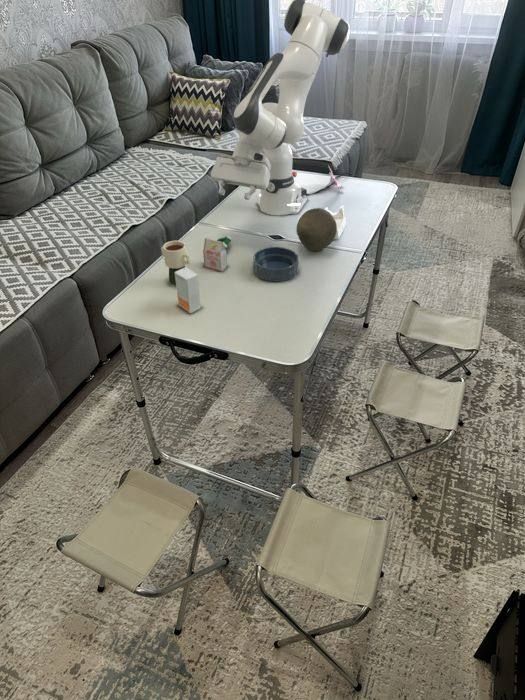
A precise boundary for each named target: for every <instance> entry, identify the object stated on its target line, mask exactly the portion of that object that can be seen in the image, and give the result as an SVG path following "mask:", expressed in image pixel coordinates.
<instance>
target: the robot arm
mask: <svg viewBox="0 0 525 700" xmlns="http://www.w3.org/2000/svg"><path fill="white" fill-rule="evenodd" d="M283 22H284V23H283V27H284V29H285V31H286V33H288V34H289V35H290V36H291V37H290V38H289V40H288V43H287V44H286V47H285V48H284V49H283V51H281V52H276V53H274V54H273V55H272V56H270V58H269V59H268V60H267V62H266V63H265V65H264V66H263V67H262V68H261V70H260V72H259V74H258V75H257V77H256V79H255V80H254V81H253V83H252V85H251V86H250V88H249V89H248V90H247V93H246V94H245V96H244V97H243V98H242V99H241V100H240V101H239V103H238V104H237V105H236V107H235V109H234V111H233V114H232V116H233V117H232V118H233V124H234V126H235V127H234V128H235V129H236V130H237V131H239V133H238V135H239V137H238V141H236V144H235V147H234V150H233V152H232V155H229V154H223V153H222V154H221V155H218V156H217V157H216V159H215V162H214V164H213V166H212V169H211V172H210V178H211V179H212V180H213V181H214V182H217V183H218V187H219V189H218V195H220V196H225V194H226V190H225V188H224V187H225V185H226V184H228V185H233V186H240V187H245V188H249V191H247V192H244V195H243V199H244V200H247V201H250V200H251V197H252V195H254V193H256V191H257V190H260V193H259V195H258V196H259V200H258V201H257V204H256V205H257V206H258V207H259V209H260V211H261V212H262V213H264V214H267V215H271V216H285V215H296V214H298V213H299V212H300V211H301V209H302V208H303V206H304V205H305V204H306V202H308V201H307V200H308V198H307V197H308V196H311V195H316V194H319V193H321V192H323V191H325V190H327V189H328V188H331V187H332V185H334V184H331V183H330V184H329V185H328V184H327V185H328V186H327V185H326V186H327V187H326V186H325V187H326V188H325V187H323V188H321V189H319V190H317V191H315V192H313V193H307V192H308V190H307V188H304V187H302V186H300V185H299V184H298V183H296V182H295V178H297V176H298V172H297V171H293V160H294V159H293V157H294V156H293V151H292V149H291V145H295V144H296V143H298V142H299V141H301V139H302V138H303V136H304V133H305V123H304V113H305V106H306V101H307V99H308V98H307V97H308V96H309V92H310V90H311V87H312V84H313V83H314V80H315V79H316V75H317V73H318V71H319V69H320V68H319V67H320V64H321V62H322V59H323V55H324V52H326V54H325V58H328V57H329V56H335V55H337V54H339V53H340V52H341V51H342V50H343V49H344V48H345V46H347V45H346V44H347V43H348V40H349V36H350V28H351V27H350V24H349V22H347V21H346V20H345V19H344V18H342V17H339V16H338V15H336V14H335V13H333V12H331V11H330V10H329V9H326V8H323V7H322V6H319V5H316V4H314V3H311V2H308V1H306V0H292V1H291V3H290V4H289V6H288V7H287V9H286V10H285V13H284V21H283ZM277 79H279V81H278V89H279V95H278V102H277V103H276V102H263V100H264V98H265V96H266V95H267V93H268V91H270V89H271V87H272V85H273V84H274V82H275V81H276V80H277ZM262 150H263V154H262ZM345 175H349V176H353V174H352V173H351V172H343V173H341V174H339V175H337V176H334V178H335V179H336V180H338V179H339V178H341V177H342V176H345ZM337 178H338V179H337ZM324 189H325V190H324ZM306 196H307V197H306Z"/></svg>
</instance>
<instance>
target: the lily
mask: <svg viewBox="0 0 525 700" xmlns="http://www.w3.org/2000/svg"><path fill="white" fill-rule="evenodd" d="M328 168H329V171H330V172H329V175H330V179H329V182H328V184H326V186H325V187H324V188H326V187H327V186H328V185H330V184H333V185H334V186H335V187H337V188H338V190H339V191H340V193H342V191H341V187H342V186H341V184H340V182H339V181H338V180H339V177H338V178H337V179H335V176H334V174H333V171H332V169H331V168H330V166H328ZM325 190H326V189H324V190H323V191H325Z"/></svg>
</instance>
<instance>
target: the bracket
mask: <svg viewBox="0 0 525 700" xmlns="http://www.w3.org/2000/svg"><path fill="white" fill-rule="evenodd" d="M323 209H324V210H326V211H328V212H330V213H331V214H332V216H333V217H334V219H335V221H336V225H337V232H336V235H335V238H334V239H333V240H339V239H340V238H341V236H342V234H343V232H344V230H345V229H346V226H347V218H346V212H345V206H344V205H340V207H339V211H337V212H332V211H331V210H330V209H329V206H327V207H324V208H323Z"/></svg>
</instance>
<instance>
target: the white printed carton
mask: <svg viewBox="0 0 525 700" xmlns="http://www.w3.org/2000/svg"><path fill="white" fill-rule="evenodd" d="M202 252H203V253H202V254H203V267H204V268H206V269H211V270H214V271H218V272H223V271H224V270H226V268H227V267H228V259H227V249H225V247H224V244H223V242H220V241H217V240H216V239H212V238H209V237H208V238H207V237H205V238H204V243H203V249H202Z"/></svg>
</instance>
